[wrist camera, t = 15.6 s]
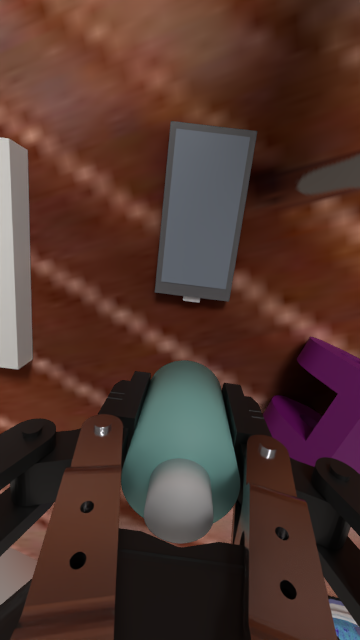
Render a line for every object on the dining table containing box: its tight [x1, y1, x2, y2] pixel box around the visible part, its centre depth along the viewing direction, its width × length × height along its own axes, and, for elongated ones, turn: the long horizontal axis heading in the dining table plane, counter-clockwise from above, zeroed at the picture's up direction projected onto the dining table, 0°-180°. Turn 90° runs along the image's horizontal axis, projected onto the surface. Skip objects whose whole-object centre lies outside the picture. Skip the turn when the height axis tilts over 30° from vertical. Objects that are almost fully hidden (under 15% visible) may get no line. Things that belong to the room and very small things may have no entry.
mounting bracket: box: [263, 337, 360, 474], centre depth 27 cm, size 10×8×18 cm
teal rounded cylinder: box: [121, 361, 240, 543], centre depth 10 cm, size 4×4×6 cm
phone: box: [155, 121, 257, 303], centre depth 24 cm, size 14×7×1 cm, turn 173°
